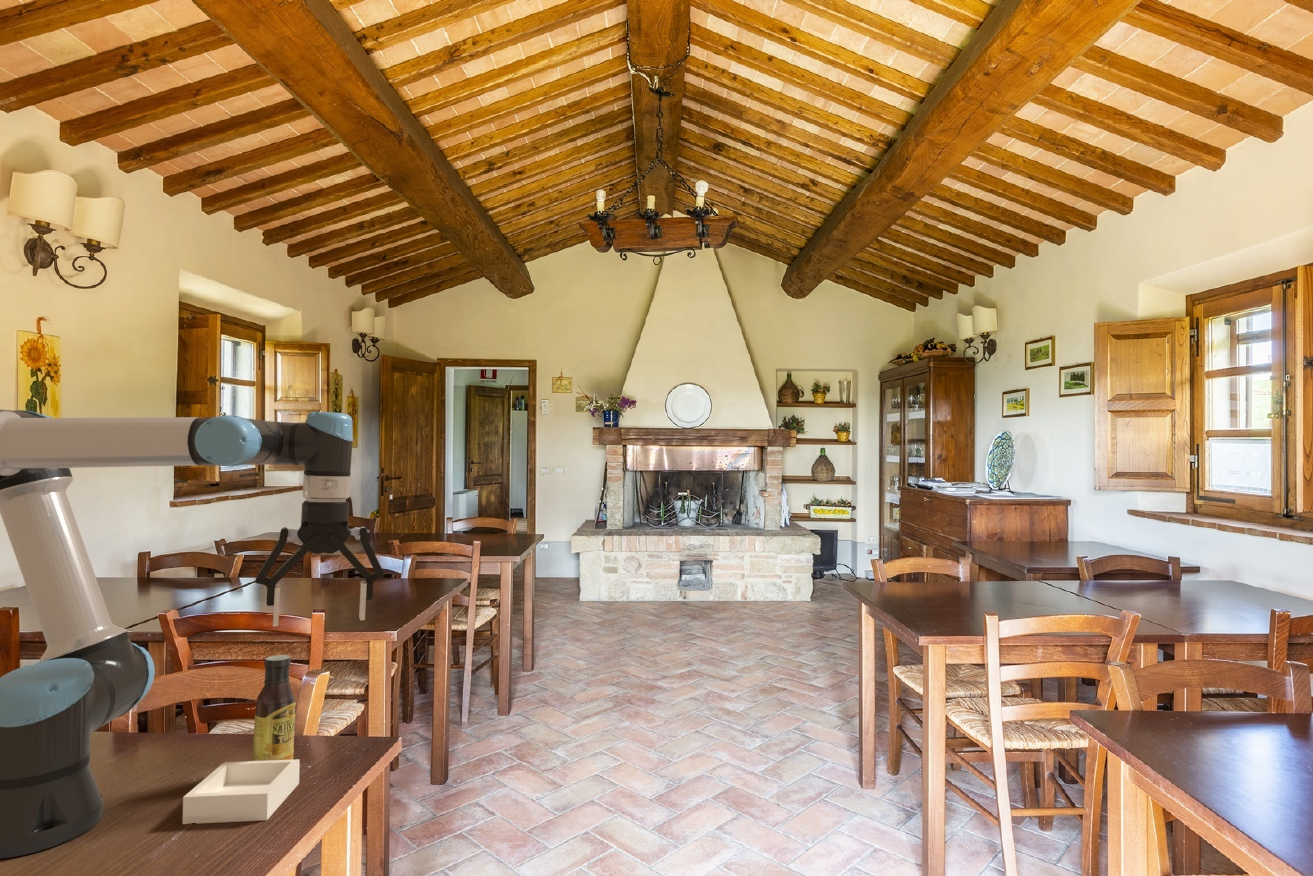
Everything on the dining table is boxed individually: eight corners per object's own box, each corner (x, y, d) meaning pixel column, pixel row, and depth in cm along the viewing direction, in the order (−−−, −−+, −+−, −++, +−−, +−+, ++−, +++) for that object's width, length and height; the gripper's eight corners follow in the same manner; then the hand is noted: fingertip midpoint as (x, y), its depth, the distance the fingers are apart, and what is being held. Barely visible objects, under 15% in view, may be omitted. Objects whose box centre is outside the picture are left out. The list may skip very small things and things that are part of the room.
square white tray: (182, 824, 104) (183, 797, 104) (223, 786, 116) (224, 762, 116) (267, 820, 105) (267, 793, 105) (299, 783, 117) (299, 759, 117)
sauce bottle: (275, 783, 117) (277, 664, 117) (243, 779, 118) (246, 662, 119) (302, 766, 123) (304, 653, 124) (271, 763, 125) (274, 651, 125)
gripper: (242, 501, 113) (235, 632, 112) (403, 501, 124) (398, 621, 124) (245, 498, 119) (238, 622, 119) (398, 499, 131) (392, 612, 130)
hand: (319, 621), depth 121 cm, fingers open, 13 cm apart
